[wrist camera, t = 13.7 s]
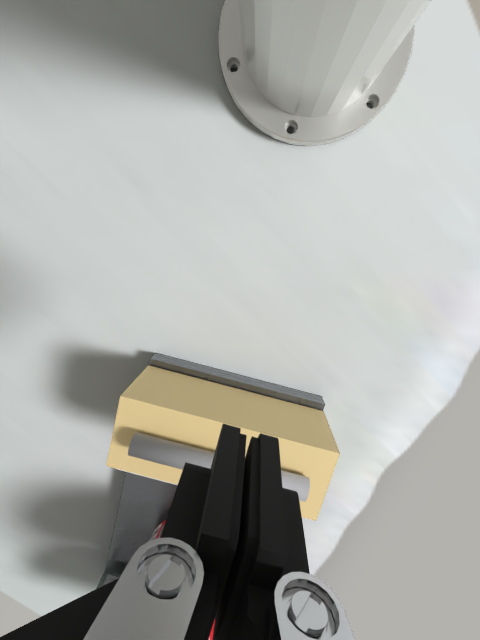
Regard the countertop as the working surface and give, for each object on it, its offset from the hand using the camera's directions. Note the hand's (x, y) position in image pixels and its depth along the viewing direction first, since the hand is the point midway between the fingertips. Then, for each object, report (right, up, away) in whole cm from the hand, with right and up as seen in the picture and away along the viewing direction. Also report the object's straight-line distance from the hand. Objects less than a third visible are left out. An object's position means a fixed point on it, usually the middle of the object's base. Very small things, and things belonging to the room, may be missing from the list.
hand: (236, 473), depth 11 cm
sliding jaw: (-1, -3, +18) cm, 18 cm away
